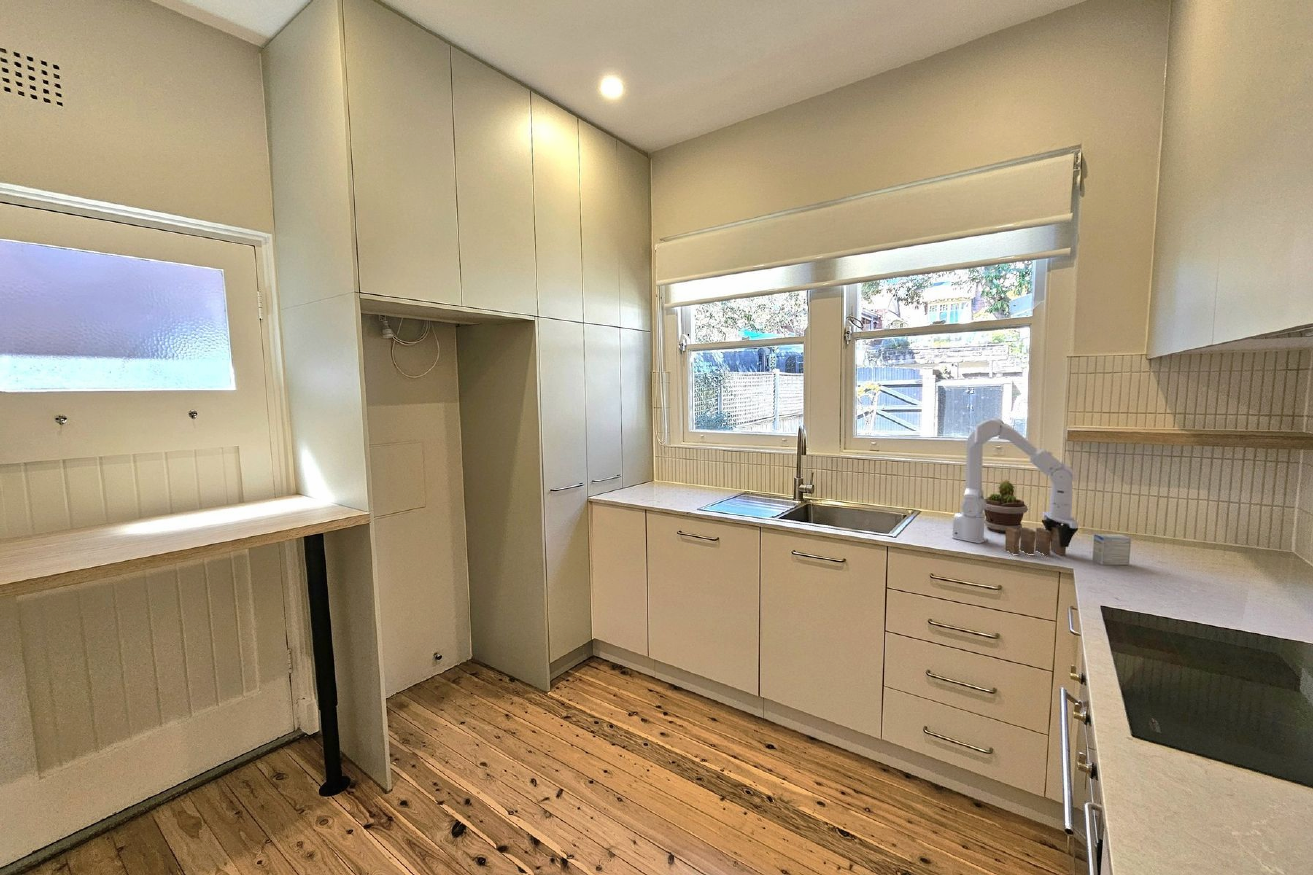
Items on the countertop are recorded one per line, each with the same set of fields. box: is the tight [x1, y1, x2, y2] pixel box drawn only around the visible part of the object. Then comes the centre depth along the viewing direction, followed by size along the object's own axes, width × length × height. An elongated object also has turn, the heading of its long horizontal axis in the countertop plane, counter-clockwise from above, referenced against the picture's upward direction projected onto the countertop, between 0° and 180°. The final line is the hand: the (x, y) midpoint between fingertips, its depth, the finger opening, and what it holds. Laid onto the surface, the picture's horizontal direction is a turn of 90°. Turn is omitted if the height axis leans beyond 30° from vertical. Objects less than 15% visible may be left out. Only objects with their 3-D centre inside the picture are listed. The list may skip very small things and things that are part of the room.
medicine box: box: [1092, 533, 1132, 566], centre depth 166 cm, size 8×4×9 cm, turn 84°
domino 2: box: [1019, 527, 1036, 555], centre depth 176 cm, size 2×5×8 cm, turn 175°
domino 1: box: [1004, 527, 1021, 555], centre depth 177 cm, size 2×5×8 cm, turn 175°
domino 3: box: [1034, 527, 1051, 556], centre depth 176 cm, size 2×5×8 cm, turn 175°
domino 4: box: [1050, 527, 1067, 556], centre depth 175 cm, size 2×5×8 cm, turn 175°
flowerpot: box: [983, 477, 1029, 534], centre depth 203 cm, size 14×15×20 cm
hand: (1058, 544), depth 175 cm, fingers open, 5 cm apart
